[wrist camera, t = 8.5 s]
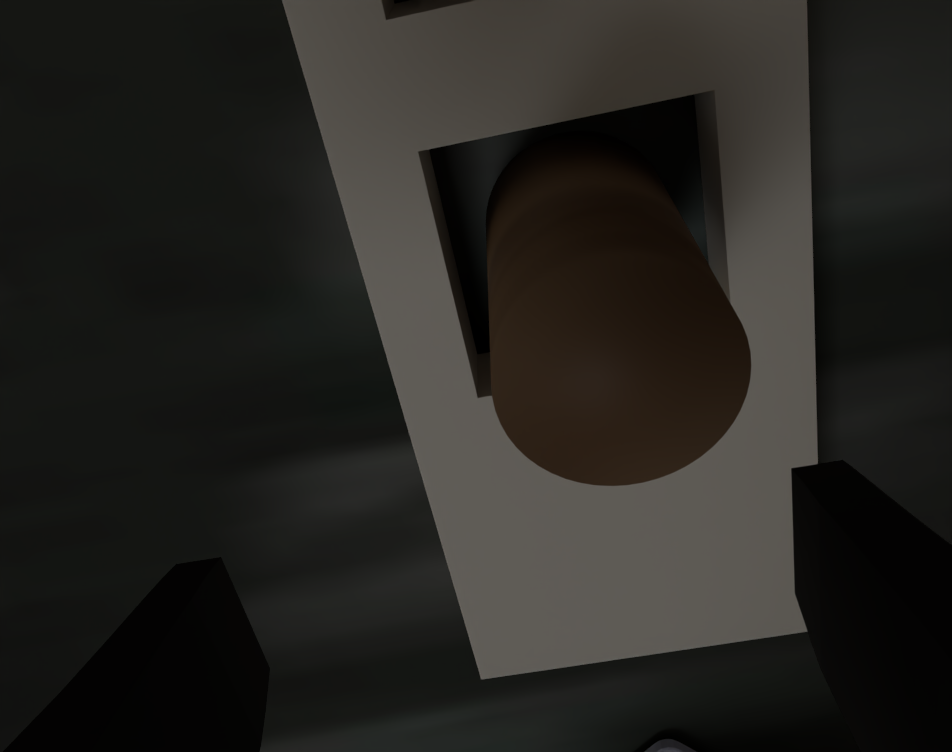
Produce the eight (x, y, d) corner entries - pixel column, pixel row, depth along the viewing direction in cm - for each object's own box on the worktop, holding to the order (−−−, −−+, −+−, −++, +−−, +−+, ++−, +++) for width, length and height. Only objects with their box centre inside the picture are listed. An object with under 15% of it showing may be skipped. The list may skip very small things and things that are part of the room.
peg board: (797, 575, 25) (821, 629, 24) (480, 624, 26) (481, 679, 24) (753, -529, 14) (792, -583, 12) (198, -377, 15) (163, -407, 13)
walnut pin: (705, 204, 20) (806, 359, 14) (585, 334, 22) (629, 524, 15) (564, 92, 19) (609, 208, 13) (450, 237, 20) (439, 402, 14)
